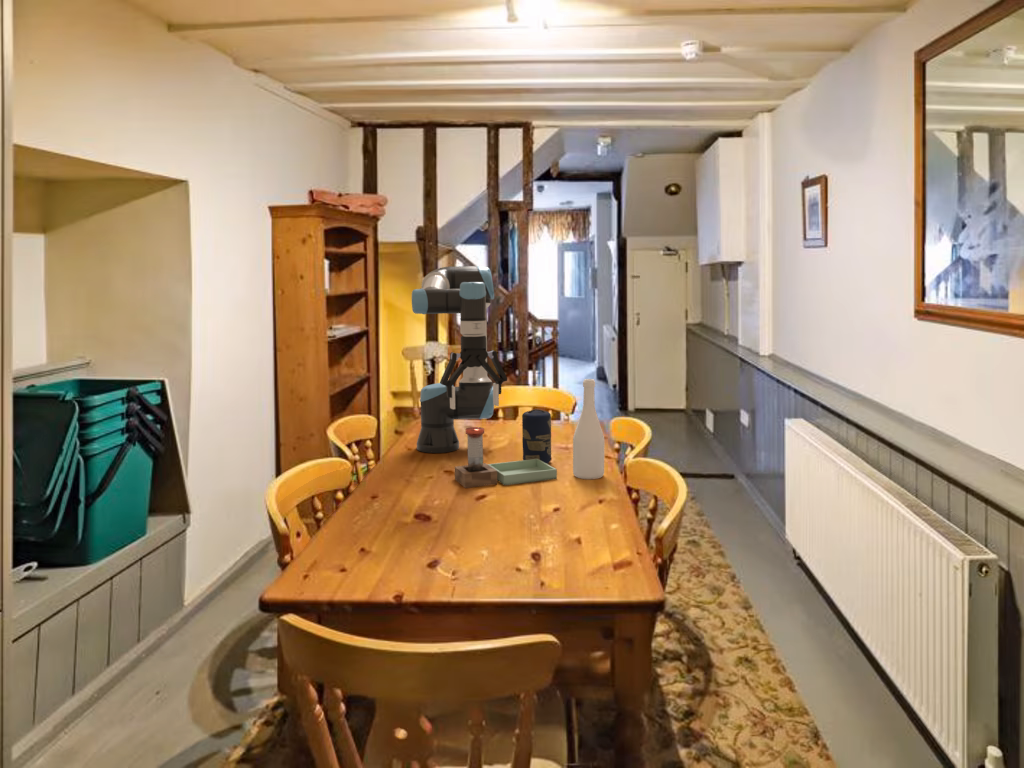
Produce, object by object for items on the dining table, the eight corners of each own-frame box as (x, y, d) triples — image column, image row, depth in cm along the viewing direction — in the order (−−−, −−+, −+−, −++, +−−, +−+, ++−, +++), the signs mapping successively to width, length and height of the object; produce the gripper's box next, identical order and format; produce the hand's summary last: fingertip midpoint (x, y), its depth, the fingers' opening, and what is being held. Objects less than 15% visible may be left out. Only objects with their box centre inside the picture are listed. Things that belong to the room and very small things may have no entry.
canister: (548, 467, 240) (548, 412, 237) (520, 465, 242) (519, 411, 239) (553, 459, 249) (553, 407, 247) (525, 458, 251) (525, 406, 249)
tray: (487, 473, 233) (487, 464, 233) (537, 467, 239) (537, 458, 239) (504, 485, 220) (504, 475, 220) (556, 478, 226) (556, 469, 226)
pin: (464, 480, 226) (463, 428, 223) (481, 478, 228) (480, 426, 225) (470, 485, 220) (469, 431, 218) (487, 483, 223) (487, 430, 220)
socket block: (454, 479, 227) (454, 466, 226) (485, 475, 231) (485, 463, 230) (465, 488, 218) (465, 474, 217) (497, 484, 221) (497, 471, 221)
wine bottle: (566, 476, 229) (566, 379, 225) (585, 470, 236) (586, 376, 232) (591, 481, 223) (592, 382, 218) (610, 475, 230) (611, 379, 225)
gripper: (435, 337, 209) (437, 412, 212) (517, 334, 219) (518, 405, 222) (428, 335, 216) (430, 407, 219) (508, 332, 226) (508, 402, 229)
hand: (474, 407), depth 220 cm, fingers open, 13 cm apart
